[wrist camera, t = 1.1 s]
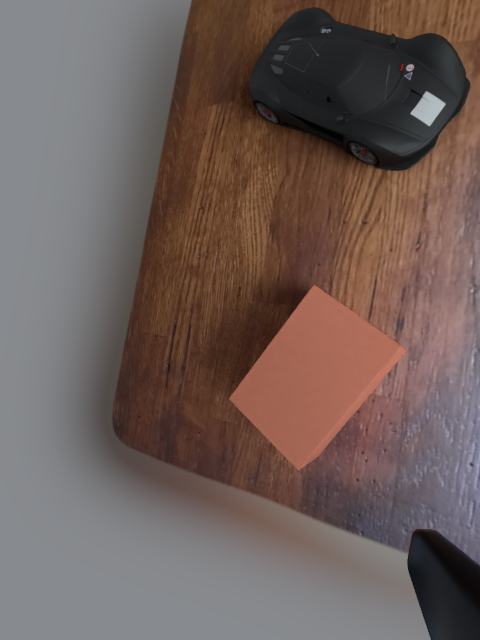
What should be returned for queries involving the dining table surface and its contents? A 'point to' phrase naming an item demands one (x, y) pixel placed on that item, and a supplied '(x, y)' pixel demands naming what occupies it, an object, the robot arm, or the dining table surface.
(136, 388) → the dining table surface
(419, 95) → the toy car
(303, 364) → the coral block
